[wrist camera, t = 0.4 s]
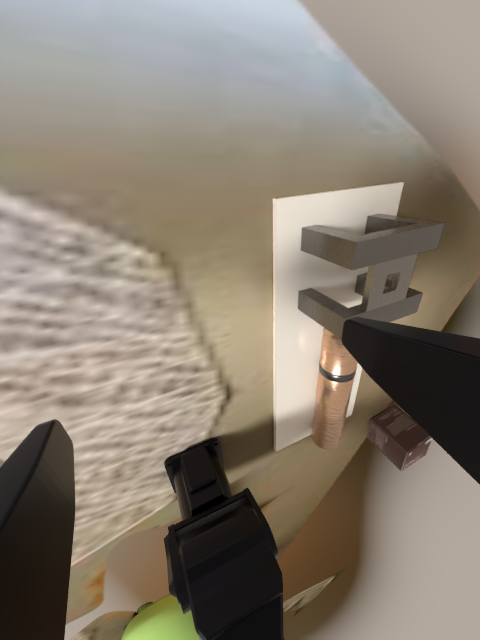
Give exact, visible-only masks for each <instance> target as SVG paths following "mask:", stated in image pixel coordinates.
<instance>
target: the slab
mask: <svg viewBox="0 0 480 640" xmlns="http://www.w3.org/2000/svg"><path fill="white" fill-rule="evenodd" d="M403 184H404V182H396V183H388V184H380V185H373V186H365V187H357V188H349V189H342V190H334V191H326V192H319V193H311V194H303V195H296V196H288V197H280V198H273V380H274V450H275V451H278V450H280V449H282V448H285V447H287V446H289V445H291V444H293V443H295V442H297V441H299V440H301V439H303V438H305V437H307V436H309V435H311V432H312V424H313V415H314V406H315V398H316V389H317V381H318V372H319V360H320V355H321V346H322V338H323V329H324V327H323V326H321V325H320V324H318V323H317V322H316V321H314V320H313V319H311V318H310V317H308V316H307V315H306V314H304V313H303V312H301V311H300V310H298V292H299V291H300V290H304V289H308V288H313V289H315V290H316V291H318V292H320V293H322V294H324V295H325V296H327V297H329V298H331V299H333V300H335V301H336V302H338V303H340V304H342V305H344V306H345V307H347V308H350V307H353V306H356V305H359V304H361V303H362V298H363V296H361V295H359V294H357V293H355V286H356V280H357V275H360V274H364V273H367V272H368V267H369V266H368V267H364V268H360V269H356V270H350V269H347V268H345V267H342V266H339V265H337V264H334V263H332V262H329V261H326V260H324V259H321V258H319V257H316V256H314V255H311V254H308V253H306V252H303V251H301V234H302V227H307V226H313V225H319V226H323V227H327V228H331V229H336V230H340V231H344V232H348V233H352V234H357V235H364V233H365V228H366V222H367V216H369V215H374V214H385V215H392V216H397V211H398V207H399V202H400V198H401V193H402V189H403ZM361 371H362V367H361V366H360V365H359V363H357V369H356V374H355V377H354V381H353V386H352V391H351V395H350V400H349V405H348V409H347V414H346V417H348V416H350V415H352V412H353V407H354V403H355V398H356V394H357V389H358V385H359V380H360V376H361Z"/></svg>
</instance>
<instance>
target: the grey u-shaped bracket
mask: <svg viewBox="0 0 480 640" xmlns="http://www.w3.org/2000/svg"><path fill="white" fill-rule="evenodd" d="M444 225H445V223H442V222H435V221H428V220H421V219H414V218H406V217H399V216H392V215H385V214H374V215H369V216H367V222H366V228H365V233H364V235H357V234H352V233H348V232H344V231H340V230H336V229H331V228H327V227H323V226H319V225H313V226H307V227H302V234H301V251H303V252H306V253H308V254H311V255H314V256H316V257H319V258H321V259H324V260H326V261H329V262H332V263H334V264H337V265H339V266H342V267H345V268H347V269H350V270H356V269H360V268H364V267H368V266H369V267H368V272H367V273H364V274H360V275H357V280H356V286H355V293H357V294H359V295H361V296H363V298H362V303H361V304H359V305H356V306H353V307H350V308H347V307H345V306H344V305H342V304H340V303H338V302H336V301H335V300H333V299H331V298H329V297H327V296H325V295H324V294H322V293H320V292H318V291H316V290H315V289H313V288H308V289H304V290H300V291H299V292H298V310H300V311H301V312H303V313H304V314H306V315H307V316H308V317H310V318H311V319H313V320H314V321H316V322H317V323H318V324H320V325H321V326H323V327H324V328H325V329H327V330H328V331H330V332H331V333H333V334H334V335H335V336H337V337H338V338H340V339H341V337H342V330H343V323H344V321H345V320H346V319H349V318H352V317H361V318H367V319H372V320H378V321H384V322H391V321H394V320H397V319H399V318H402V317H405V316H408V315H410V314H413V313H416V312H417V310H418V307H419V304H420V301H421V297H422V294H423V293H422V292H419V291H417V290H414V289H411V288H409V284H410V280H411V277H412V273H413V270H414V266H415V263H416V259H417V255H418V253H422V252H425V251H429V250H433V249H437V247H438V244H439V241H440V238H441V235H442V232H443V228H444ZM391 274H393V277H392V281H390V280H387V279H386V278H387V275H391Z"/></svg>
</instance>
